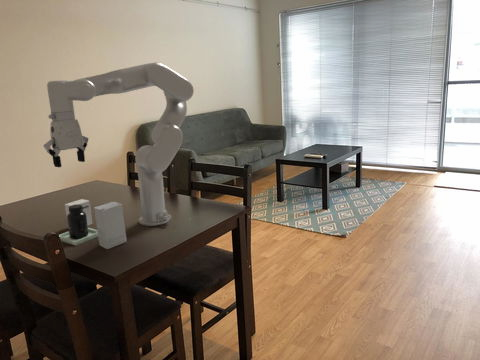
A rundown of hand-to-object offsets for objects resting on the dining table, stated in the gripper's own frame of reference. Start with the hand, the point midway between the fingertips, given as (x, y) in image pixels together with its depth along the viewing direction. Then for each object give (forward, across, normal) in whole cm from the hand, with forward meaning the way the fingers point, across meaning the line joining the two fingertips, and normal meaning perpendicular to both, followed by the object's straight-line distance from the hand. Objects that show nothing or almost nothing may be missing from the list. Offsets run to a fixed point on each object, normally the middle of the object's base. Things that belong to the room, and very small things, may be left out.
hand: (70, 164), depth 147 cm
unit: (+28, +8, +10) cm, 31 cm away
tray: (+28, 0, 0) cm, 28 cm away
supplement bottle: (+28, -1, 0) cm, 28 cm away
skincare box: (+29, +1, -17) cm, 33 cm away
